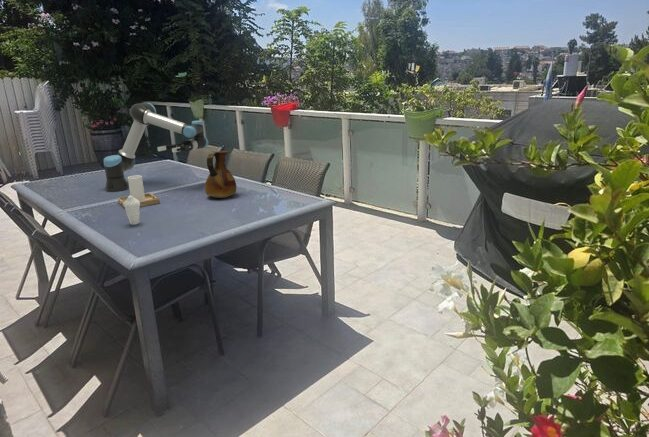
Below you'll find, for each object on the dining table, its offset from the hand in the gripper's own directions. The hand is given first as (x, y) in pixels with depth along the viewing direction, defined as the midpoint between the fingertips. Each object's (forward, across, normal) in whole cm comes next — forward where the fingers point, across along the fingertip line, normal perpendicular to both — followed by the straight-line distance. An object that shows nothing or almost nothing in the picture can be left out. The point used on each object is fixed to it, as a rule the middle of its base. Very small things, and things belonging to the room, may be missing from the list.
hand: (165, 149), depth 296 cm
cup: (+24, +2, -29) cm, 38 cm away
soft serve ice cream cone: (+54, -32, -30) cm, 69 cm away
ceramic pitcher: (-10, -36, -30) cm, 48 cm away
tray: (+24, +1, -30) cm, 39 cm away
